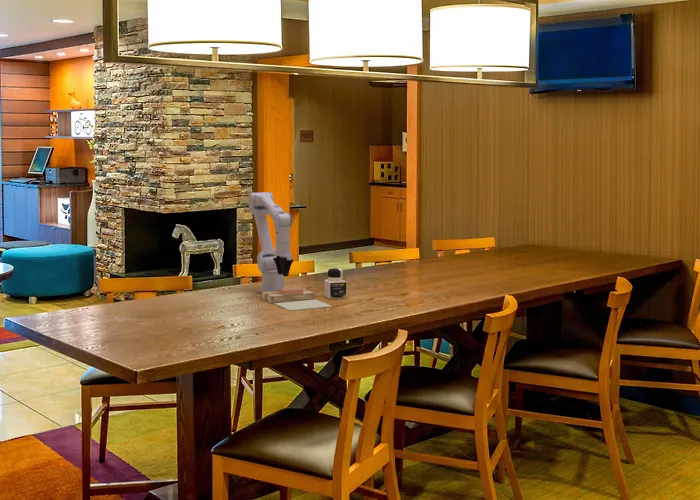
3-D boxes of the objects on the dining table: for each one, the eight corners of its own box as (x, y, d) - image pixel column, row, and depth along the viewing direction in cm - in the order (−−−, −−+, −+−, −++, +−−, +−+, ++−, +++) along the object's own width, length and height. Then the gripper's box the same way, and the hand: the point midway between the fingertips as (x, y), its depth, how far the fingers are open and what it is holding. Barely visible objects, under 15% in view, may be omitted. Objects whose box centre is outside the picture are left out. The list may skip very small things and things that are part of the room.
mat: (274, 304, 361) (274, 303, 361) (315, 300, 369) (315, 299, 369) (289, 311, 347) (289, 310, 347) (332, 306, 355) (332, 305, 355)
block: (279, 293, 369) (279, 288, 368) (297, 291, 372) (297, 286, 372) (284, 295, 363) (284, 290, 363) (303, 293, 367) (303, 289, 367)
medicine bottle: (330, 299, 371) (330, 270, 370) (324, 296, 378) (324, 268, 376) (346, 298, 374) (346, 269, 372) (340, 295, 380) (340, 267, 379)
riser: (261, 298, 373) (261, 291, 373) (301, 294, 382) (300, 287, 381) (274, 304, 361) (273, 296, 361) (314, 300, 369) (314, 293, 369)
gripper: (267, 241, 377) (267, 273, 379) (280, 245, 364) (281, 278, 366) (282, 240, 380) (283, 272, 382) (296, 244, 367) (297, 277, 369)
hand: (283, 275), depth 374 cm, fingers open, 4 cm apart
